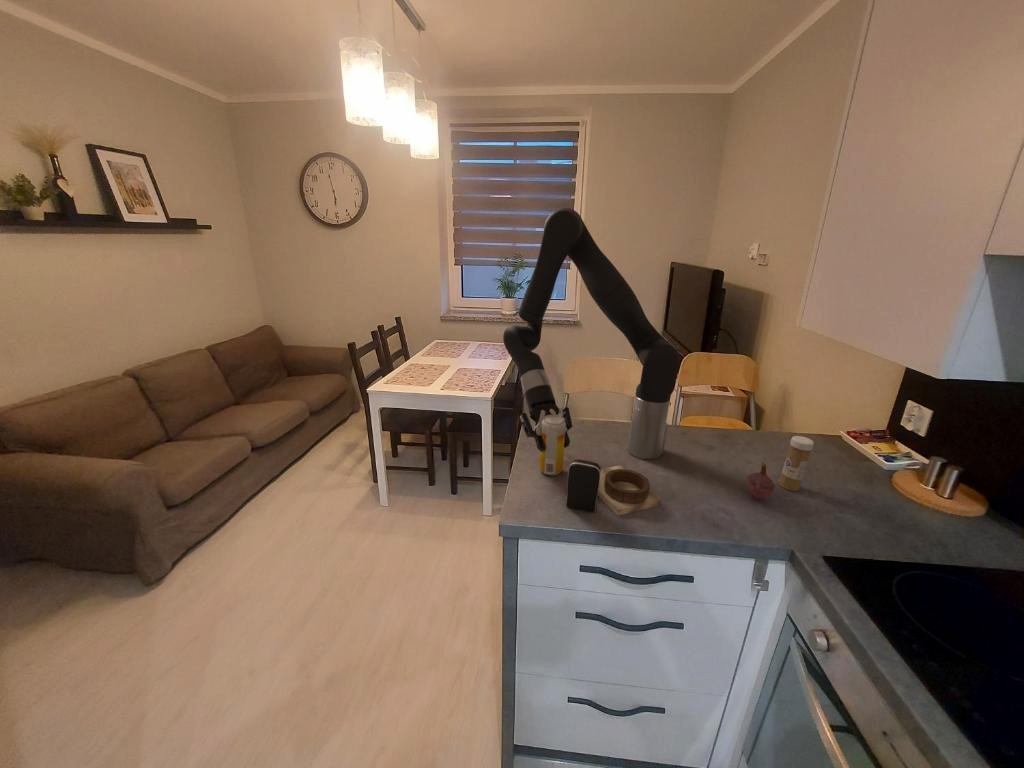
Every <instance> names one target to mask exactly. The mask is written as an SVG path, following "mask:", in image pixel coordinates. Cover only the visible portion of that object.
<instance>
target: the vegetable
mask: <svg viewBox="0 0 1024 768" xmlns="http://www.w3.org/2000/svg"><path fill="white" fill-rule="evenodd" d="M745 487H746V489H747V490H748V493H750V495H751V497H752V498H753V499H755V500H761V499H767V498H770V497H771V496H772V495H773V494H774V492H775V483H774V481H773V479H772V478H771V477H770V476H768V474H767V463H765V462H764V461H762V462H761V468H760V472H755V473H754V472H753V473H751V474H749V475H748V476H746V479H745Z"/></svg>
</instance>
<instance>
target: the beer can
mask: <svg viewBox="0 0 1024 768" xmlns="http://www.w3.org/2000/svg"><path fill="white" fill-rule="evenodd" d="M565 429H566V423H565V419H564V418H563V417H562V416H561V415H560V414H558V415H547V416H545V417H544V418H543V421H542V427H541V436H542V438H543V441H544V444H545V447H546V450H545V451H543V452H540V453H539V469H540V471H541V472H542V473H543V474H544V475H547V476H557V475H559V474H560V473H561V472H562V471H563V468H564V457H565V454H564V453H565V448H564V443H565Z"/></svg>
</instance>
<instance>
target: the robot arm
mask: <svg viewBox="0 0 1024 768" xmlns="http://www.w3.org/2000/svg"><path fill="white" fill-rule="evenodd" d="M540 243H541V244H540V248H539V251H538V252H539V253H538V257H537V260H536V264H535V266H534V270H533V272H532V275H531V277H530V280H529V282H528V285H527V287H526V290H525V292H524V295H523V297H522V300H521V304H520V306H519V309H518V316H519V318H520V319H521V320H523V321H524V322H526V323H527V325H525V326H524V325H517V324H516V325H514V324H513V325H509V326H507V327H506V328H505V330H503V331H504V332H503V336H502V337H503V339H502V340H503V344H504V347H505V350H506V351H507V353H508V355H509V356H510V358H511V359H512V361H513V362H514V364H515V365H516V367H517V370H518V375H519V379H520V383H521V388H522V393H523V395H524V399H525V402H526V405H527V408H528V412H522V414H521V415H520V416H519V421H520V423H521V426H522V428H523V431H524V433H525V436H526V438H533V439H534V442H535V445H536V448H537V450H538V451H540V452H543V451H545V450H546V447H545V444H544V441H543V438H542V436H541V427H542V421H543V418H544V417H545V416H547V415H559V416H562V417H563V418H564V419H565V423H566V429H565V443H564V449H565V448H566V449H567V448H568V447H570V444H571V440H570V436H569V433H568V431H569V430H570V429H572V428H573V422H572V418H571V413H570V407H568V406H565V407H563V408H559V407H558V406H557V403H556V398H555V395H554V392H553V389H552V386H551V383H550V380H549V377H548V375H547V373H546V371H545V367H544V364H543V361H542V359H541V356H540V355H539V354H538V353H537V352H534V350H536V349H537V347H539V345H540V342H541V338H542V329H543V321H544V316H545V314H546V311H547V309H548V306H549V305H550V301H551V298H552V295H553V292H554V289H555V285H556V282H557V278H558V276H559V273H560V270H561V268H562V267H563V264H564V262H565V260H566V258H567V256H568V258H569V259H570V260H571V262H572V263H574V265H575V267H576V268H577V270H578V273H579V274H580V277H581V279H582V281H583V283H584V285H585V288H586V290H587V291H588V293H589V295H590V297H591V298H592V300H593V301H594V302H595V304H596V305H597V307H598V308H599V310H601V312H602V313H603V315H604V316H605V317H606V318H607V319H608V320H609V321H610V322H611V323H612V324H613V325H614V326H615V327H616V328H617V329H618V330H619V331H620V333H622V334H623V335H624V336H625V338H626V339H627V341H628V343H629V344H630V346H631V347H632V350H633V351H634V353H635V354H636V356H637V359H638V360H639V363H640V364H641V365H642V369H641V376H640V381H639V384H637V386H636V389H635V395H634V402H633V410H632V417H631V424H630V431H629V435H628V436H629V438H628V443H627V451H628V453H630V455H632V456H633V457H635V458H639V459H642V460H656V459H658V458H660V457H661V456H662V455H664V452H665V447H666V442H667V435H668V430H669V424H668V422H667V419H668V413H669V407H670V401H671V396H672V394H673V393H674V391H675V389H676V388H675V387H676V383H677V380H678V374H679V369H680V364H681V362H680V361H681V358H680V353H679V351H678V350H677V348H676V347H675V346H674V345H673V344H672V343H670V342H669V340H667V339H666V338H664V337H663V336H662V335H661V333H660V332H658V330H657V329H656V328H655V327H654V326H653V325H652V322H650V321H649V319H648V318H647V315H646V314H645V311H644V310H643V309H644V308H643V307H642V305H641V303H640V301H639V299H638V297H637V295H636V294H635V292H634V291H633V289H632V288H631V286H630V284H629V283H628V282H627V280H626V279H625V278H624V276H623V275H622V274H621V272H619V270H618V269H617V268H616V266H615V265H614V264H613V263H612V261H611V260H610V259H609V258H608V257H607V255H606V254H604V253H603V251H602V250H601V249H600V247H599V246H598V245H597V243H596V242H595V240H594V238H593V236H592V234H591V232H590V231H589V229H588V227H587V226H586V224H585V222H584V220H583V218H582V216H581V215H580V214H579V212H577V211H576V210H574V209H573V208H571V207H570V208H569V207H562V208H559V209H556V210H555V211H553V212H550V214H549V215H548V216H547V218H546V219H545V222H544V225H543V232H542V237H541V242H540ZM531 420H532V421H533V422H534V427H533V426H532V424H531Z"/></svg>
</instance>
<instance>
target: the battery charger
mask: <svg viewBox="0 0 1024 768" xmlns="http://www.w3.org/2000/svg"><path fill="white" fill-rule="evenodd" d="M601 469H602V468H601V466H600V464H599V463H597V462H594V461H589V460H585V459H579V458H575V459H574V460H572V462H571V463H570V465H569V467H568V474H567V482H566V483H567V485H566V488H567V489H566V491H567V492H566V503H565V506H566V507H569V508H571V509H576V510H580V511H585V512H589V513H595V512H596V509H597V500H598V490H599V483H600V473H601Z"/></svg>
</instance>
